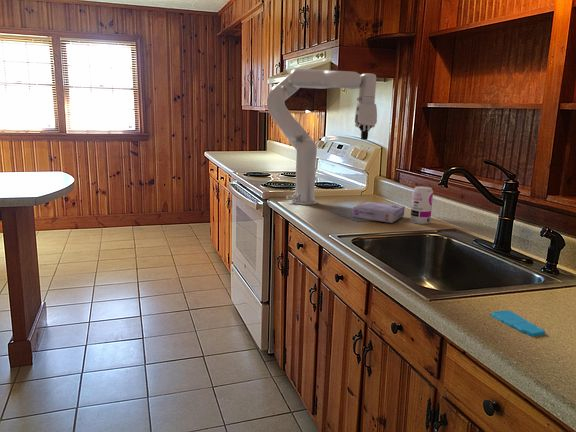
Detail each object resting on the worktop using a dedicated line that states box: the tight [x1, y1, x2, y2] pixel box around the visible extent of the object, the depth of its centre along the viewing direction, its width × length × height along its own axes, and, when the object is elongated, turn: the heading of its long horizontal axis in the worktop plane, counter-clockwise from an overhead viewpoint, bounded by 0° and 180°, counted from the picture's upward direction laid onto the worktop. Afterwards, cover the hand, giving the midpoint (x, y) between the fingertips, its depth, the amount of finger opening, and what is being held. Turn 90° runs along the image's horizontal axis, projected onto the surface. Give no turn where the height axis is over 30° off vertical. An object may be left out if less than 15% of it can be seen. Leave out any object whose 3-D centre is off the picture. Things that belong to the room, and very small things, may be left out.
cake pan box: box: [352, 201, 405, 224], centre depth 212 cm, size 19×5×18 cm
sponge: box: [490, 310, 546, 338], centre depth 109 cm, size 2×12×6 cm
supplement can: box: [409, 185, 434, 225], centre depth 205 cm, size 8×8×15 cm
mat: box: [330, 208, 376, 223], centre depth 216 cm, size 18×22×1 cm
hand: (364, 139), depth 234 cm, fingers closed
